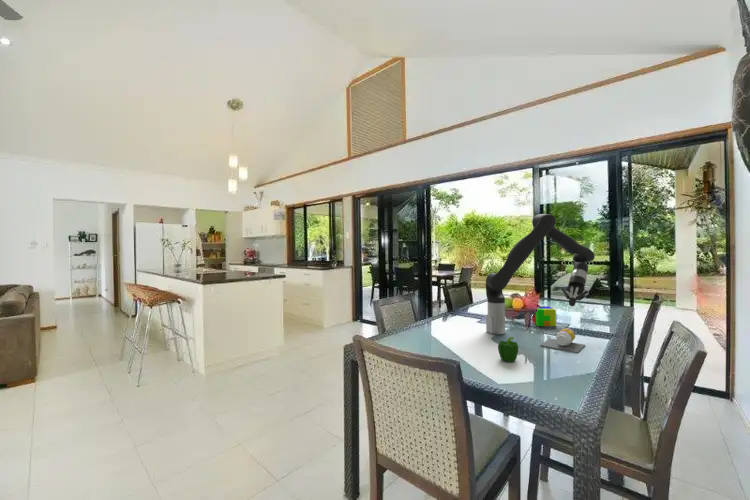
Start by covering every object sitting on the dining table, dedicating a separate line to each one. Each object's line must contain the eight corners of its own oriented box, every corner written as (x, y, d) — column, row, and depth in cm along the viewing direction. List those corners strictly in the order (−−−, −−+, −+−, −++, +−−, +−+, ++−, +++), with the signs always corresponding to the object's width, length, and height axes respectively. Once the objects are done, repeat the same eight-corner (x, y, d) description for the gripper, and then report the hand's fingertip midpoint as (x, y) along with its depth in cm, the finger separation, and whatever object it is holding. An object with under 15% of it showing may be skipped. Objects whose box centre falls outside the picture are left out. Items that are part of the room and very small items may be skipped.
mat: (549, 339, 174) (549, 338, 174) (585, 345, 163) (585, 344, 163) (540, 346, 164) (540, 345, 164) (577, 353, 153) (577, 352, 153)
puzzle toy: (548, 322, 208) (548, 306, 208) (555, 326, 198) (555, 309, 198) (532, 322, 209) (531, 306, 209) (538, 326, 199) (538, 309, 199)
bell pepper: (502, 364, 142) (502, 340, 142) (495, 357, 151) (495, 335, 150) (522, 363, 143) (522, 340, 142) (514, 356, 151) (513, 334, 150)
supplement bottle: (572, 326, 168) (566, 332, 158) (577, 339, 167) (572, 346, 157) (558, 329, 172) (551, 335, 162) (563, 342, 171) (557, 348, 161)
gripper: (563, 274, 186) (555, 299, 177) (590, 275, 176) (584, 302, 168) (565, 282, 190) (559, 307, 181) (593, 284, 180) (587, 311, 172)
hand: (571, 305), depth 175 cm, fingers closed
